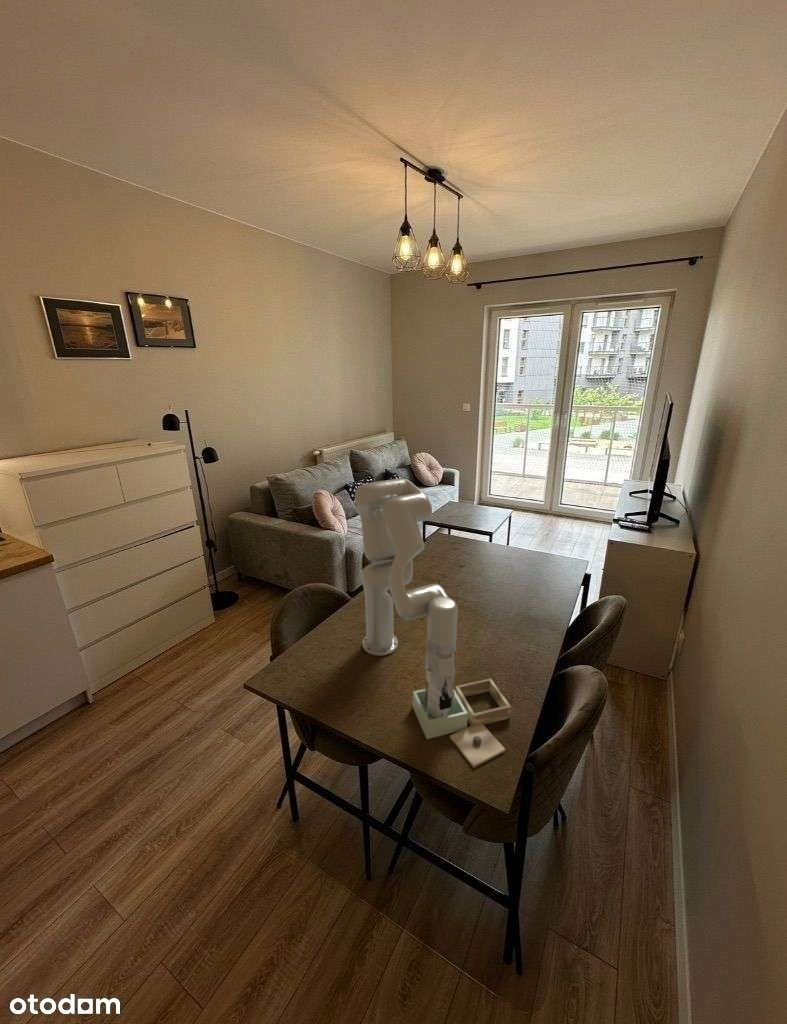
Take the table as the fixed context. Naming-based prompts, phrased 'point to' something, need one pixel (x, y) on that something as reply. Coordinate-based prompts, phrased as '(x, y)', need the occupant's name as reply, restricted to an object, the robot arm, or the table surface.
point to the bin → (442, 725)
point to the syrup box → (434, 698)
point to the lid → (477, 744)
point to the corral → (488, 715)
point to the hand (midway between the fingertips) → (439, 696)
